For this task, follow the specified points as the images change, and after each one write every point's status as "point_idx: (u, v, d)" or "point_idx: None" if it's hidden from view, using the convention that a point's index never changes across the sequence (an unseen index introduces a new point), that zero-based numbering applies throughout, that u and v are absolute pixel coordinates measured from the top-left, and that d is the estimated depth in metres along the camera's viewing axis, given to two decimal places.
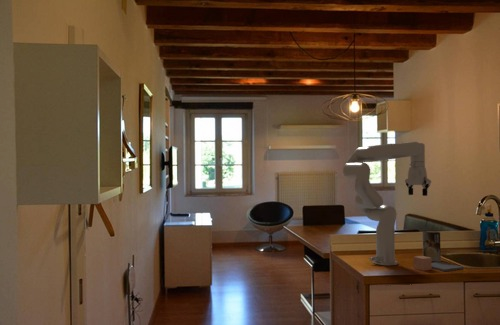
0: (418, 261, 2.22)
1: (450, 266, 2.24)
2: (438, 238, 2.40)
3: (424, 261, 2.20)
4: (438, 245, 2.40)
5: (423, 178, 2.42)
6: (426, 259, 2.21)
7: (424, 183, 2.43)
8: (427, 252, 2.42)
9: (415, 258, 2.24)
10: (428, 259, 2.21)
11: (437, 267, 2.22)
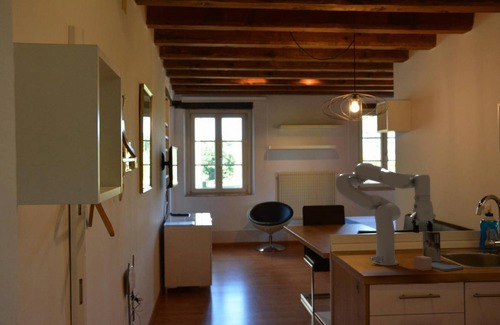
0: (418, 261, 2.22)
1: (450, 266, 2.24)
2: (438, 238, 2.40)
3: (424, 261, 2.20)
4: (438, 245, 2.40)
5: None
6: (426, 259, 2.21)
7: None
8: (427, 252, 2.42)
9: (415, 258, 2.24)
10: (428, 259, 2.21)
11: (437, 267, 2.22)
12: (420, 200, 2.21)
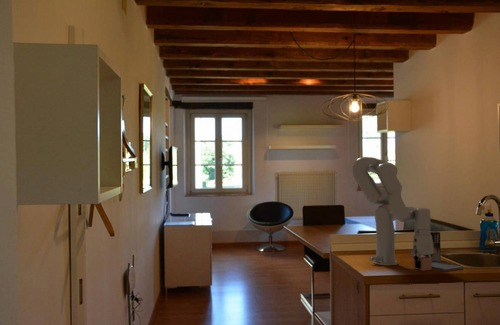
0: None
1: (450, 266, 2.24)
2: (438, 238, 2.40)
3: (424, 261, 2.20)
4: (438, 245, 2.40)
5: None
6: (426, 259, 2.21)
7: None
8: None
9: None
10: (428, 259, 2.21)
11: (437, 267, 2.22)
12: (420, 234, 2.21)
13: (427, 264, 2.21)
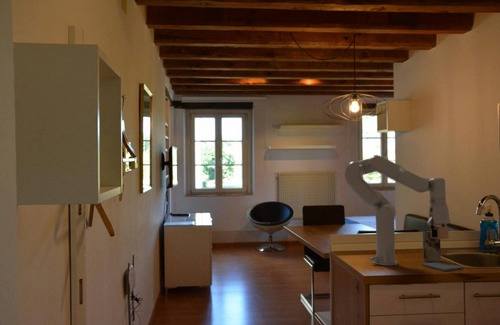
0: None
1: (450, 266, 2.24)
2: None
3: (441, 230, 2.23)
4: (438, 245, 2.40)
5: None
6: (443, 228, 2.23)
7: None
8: (427, 252, 2.42)
9: None
10: (445, 228, 2.24)
11: (437, 267, 2.22)
12: (436, 203, 2.24)
13: (444, 233, 2.23)
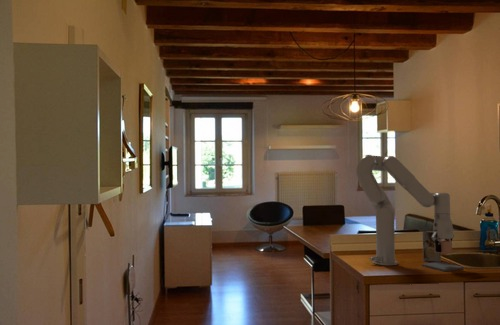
0: None
1: (450, 266, 2.24)
2: None
3: (445, 244, 2.23)
4: None
5: None
6: (447, 243, 2.24)
7: None
8: (427, 252, 2.42)
9: None
10: (449, 243, 2.25)
11: (437, 267, 2.22)
12: (440, 218, 2.24)
13: (448, 248, 2.24)
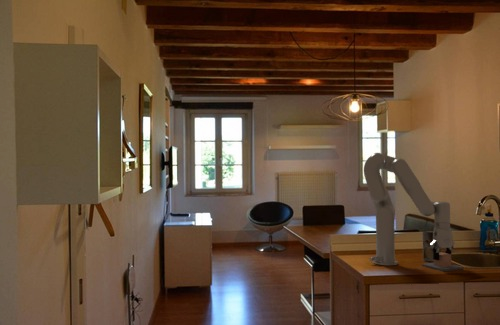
0: None
1: (450, 266, 2.24)
2: None
3: (444, 257, 2.23)
4: None
5: None
6: (446, 255, 2.24)
7: None
8: (427, 252, 2.42)
9: None
10: (448, 255, 2.25)
11: (437, 267, 2.22)
12: (440, 227, 2.24)
13: (447, 261, 2.24)
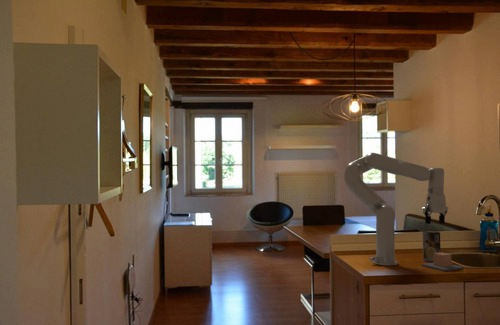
0: (438, 257, 2.25)
1: (450, 266, 2.24)
2: (438, 238, 2.40)
3: (444, 257, 2.23)
4: (438, 245, 2.40)
5: None
6: (446, 255, 2.24)
7: None
8: (427, 252, 2.42)
9: (435, 255, 2.27)
10: (448, 255, 2.25)
11: (437, 267, 2.22)
12: (433, 192, 2.29)
13: (447, 261, 2.24)
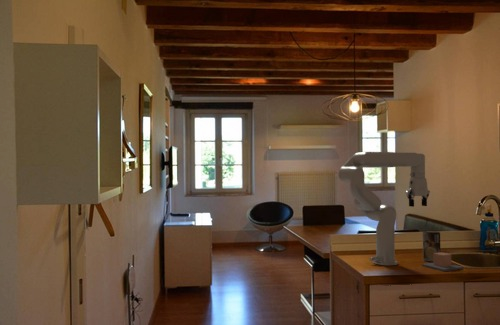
0: (438, 257, 2.25)
1: (450, 266, 2.24)
2: (438, 238, 2.40)
3: (444, 257, 2.23)
4: (438, 245, 2.40)
5: None
6: (446, 255, 2.24)
7: None
8: (427, 252, 2.42)
9: (435, 255, 2.27)
10: (448, 255, 2.25)
11: (437, 267, 2.22)
12: (415, 177, 2.42)
13: (447, 261, 2.24)
